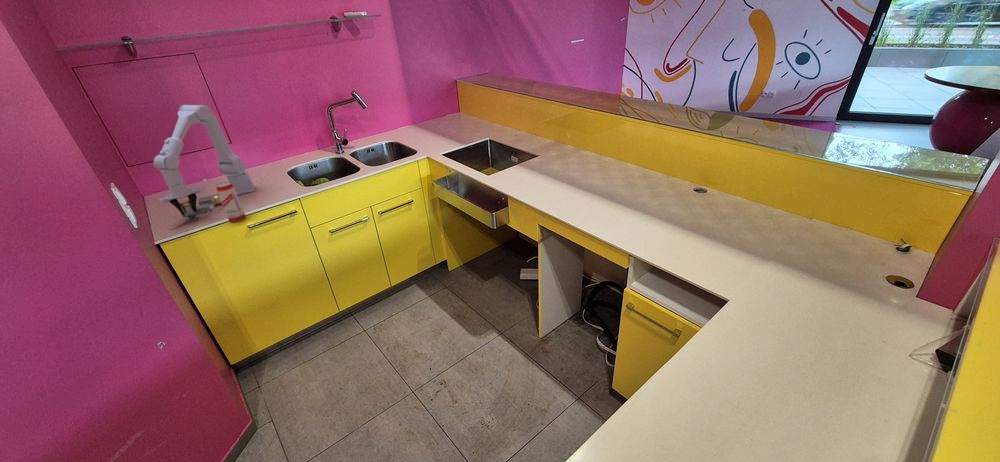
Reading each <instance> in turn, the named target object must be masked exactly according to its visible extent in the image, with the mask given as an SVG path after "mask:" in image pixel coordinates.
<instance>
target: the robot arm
mask: <svg viewBox="0 0 1000 462" xmlns="http://www.w3.org/2000/svg"><path fill="white" fill-rule="evenodd" d="M177 116H178V119H177V121H176V123H175V127H174V129H173V132H172V135H171V137H167V138H166V139H165V140H164V142H163V143H164V144H163V145H162V148H161V150H160V151H159V154H157V155H156V156H155V157H154V158H153V164H152V166H153V167H154V168H155V169H157V170H158V171H159V172H160V173H161V175H162V176H163V179H164V181H165V183H166V185H167V188H168V189H169V191H170V194H168V195H166V196H164V197H160V198H159V199H158V200H159V202H160V204H162V205H165V204H166V203H170V204H172V205H173V206H174V207H175V208H176V209H177V210H178V211H179V212H180V214H181V215H182V217H183V216H185V214H184V212H183V210H182V208H181V206H180V203H181V202H179V201H178V200H180V199H183V198H185V197H187V200H190V201H191V205H192V207H193V209H194V211H195V212H197V209H196V206H197V201H198V200H197V198H198V195H196V194H199V193H203V189H202V187H200V186H199V187H194V188H189V189H188V186H187V185H186V182H185V179H184V177H183V175H182V174H181V171H180V170H179V166H180V154H181V152H182V150H183V148H184V146H185V144H184V142H183V141H184V140H183V139H184V138H185V136H186V134H187V132H188V131H189V129H190V127H191V126H192V125H197V124H198V123H199V124H203V125H204V127H205V129H206V132H207V134H208V136H209V138H210V140H211V142H212V144H213V146H214V149H215V151H216V152H217V155H218V158H217V159H216V162H217V164H218V170H219V172H221V173H222V174H223V175H224V176H226V179H227V182H231V184H232V185H233V186H234V188H235V191H236V193H237V196H240V195H244V194H248V193H252V192H255V187H254V185H255V184H254V182H253V181H252V179H251V175H250V173H249V171H246V165H245V163H244V161H243V160H241V157H239V156H238V155H236V154H235V153H233V151H232V149H231V147H230V145H229V142H228V141H227V138H226V136H225V134H224V132H223V129H222V127H221V125H220V123H219V121H218V118H217V117H216V115H215V114H214V113H213V112H212V110H211V108H210V106H207V105H204V104H197V105H196V104H182V105H181V106H180V107H179V110H178V111H177ZM185 217H186V216H185Z"/></svg>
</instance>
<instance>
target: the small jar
mask: <svg viewBox="0 0 1000 462" xmlns="http://www.w3.org/2000/svg"><path fill="white" fill-rule="evenodd" d="M179 203H180V206H181V207H182V208H183V210H184V211H185V213H186V215H187V216H186V217H187V219H188V218H189V219H190V218H194V217H196V216H198V214H196V213H195V211H194V209H193V207H192V206H191V201H190V200H189V199H187V200H183V201H181V202H179Z"/></svg>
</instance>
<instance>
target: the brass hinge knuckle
mask: <svg viewBox="0 0 1000 462" xmlns="http://www.w3.org/2000/svg"><path fill="white" fill-rule="evenodd" d="M191 206H192V205H191ZM181 208H182V207H181ZM196 209H197V212H195V213H196V215H198V214H203V213H207V212H211V205H210V204H204V205H196ZM182 210H183V208H182ZM183 212H184V214H185V216H183V215H182V217H183V218H185V217H187V215H186V213H185V211H184V210H183Z"/></svg>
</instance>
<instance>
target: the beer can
mask: <svg viewBox="0 0 1000 462" xmlns="http://www.w3.org/2000/svg"><path fill="white" fill-rule="evenodd" d="M216 194H218V195H219V198H220V200H221V203H222V204H221V205H222V207H223V209H224V213H225V214H226V216H227V219H228V221H230V222H233V223H235V222H236V223H237V222H240V221H242V220H243V219H244V218H245V216H246V214H245V212H244V209H243V207H242V203H241V202H240V199H239V197H238V196H239V195H237V193H236V191H235V188H234V186H233V185H232V184H231V182H228V181H223V182H220V183H217V184H216Z"/></svg>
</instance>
